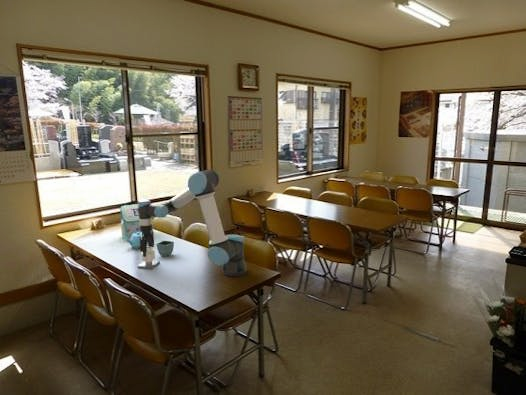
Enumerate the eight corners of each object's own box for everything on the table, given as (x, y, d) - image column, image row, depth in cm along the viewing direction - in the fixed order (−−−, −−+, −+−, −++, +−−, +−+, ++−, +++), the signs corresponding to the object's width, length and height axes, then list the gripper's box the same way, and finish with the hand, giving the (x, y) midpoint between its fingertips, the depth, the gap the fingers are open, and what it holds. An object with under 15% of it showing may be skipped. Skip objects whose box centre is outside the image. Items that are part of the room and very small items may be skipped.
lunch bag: (124, 241, 297) (121, 207, 291) (120, 236, 310) (117, 203, 305) (154, 237, 308) (152, 204, 302) (149, 232, 322) (147, 200, 316)
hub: (159, 263, 252) (159, 254, 250) (152, 269, 242) (151, 260, 241) (145, 262, 254) (145, 253, 253) (137, 267, 244) (137, 258, 243)
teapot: (135, 243, 293) (133, 228, 291) (152, 243, 291) (151, 229, 289) (125, 250, 278) (124, 235, 276) (143, 250, 276) (142, 235, 274)
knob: (155, 258, 249) (154, 245, 248) (150, 261, 244) (149, 248, 242) (146, 257, 251) (145, 245, 249) (141, 260, 245) (140, 248, 243)
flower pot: (164, 252, 272) (163, 240, 270) (175, 253, 269) (174, 241, 267) (156, 256, 264) (156, 244, 262) (167, 258, 261) (167, 245, 259)
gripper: (147, 220, 252) (150, 253, 257) (132, 228, 234) (135, 264, 239) (158, 220, 251) (160, 254, 255) (143, 228, 233) (146, 265, 237)
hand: (148, 259), depth 247 cm, fingers closed on knob, 6 cm apart
